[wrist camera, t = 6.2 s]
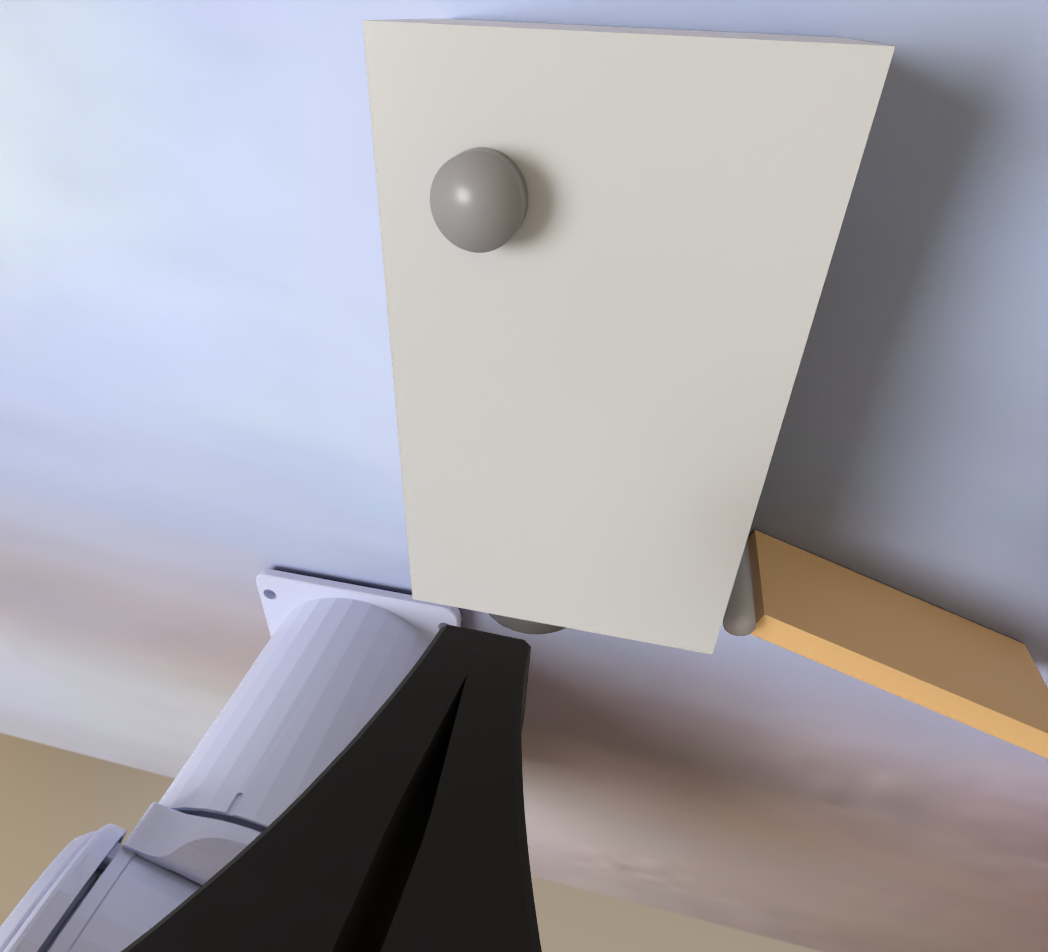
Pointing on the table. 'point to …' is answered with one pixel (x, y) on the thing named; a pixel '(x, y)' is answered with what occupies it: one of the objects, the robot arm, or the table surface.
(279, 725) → the robot arm
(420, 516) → the white knobbed box
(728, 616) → the side door
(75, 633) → the table surface
